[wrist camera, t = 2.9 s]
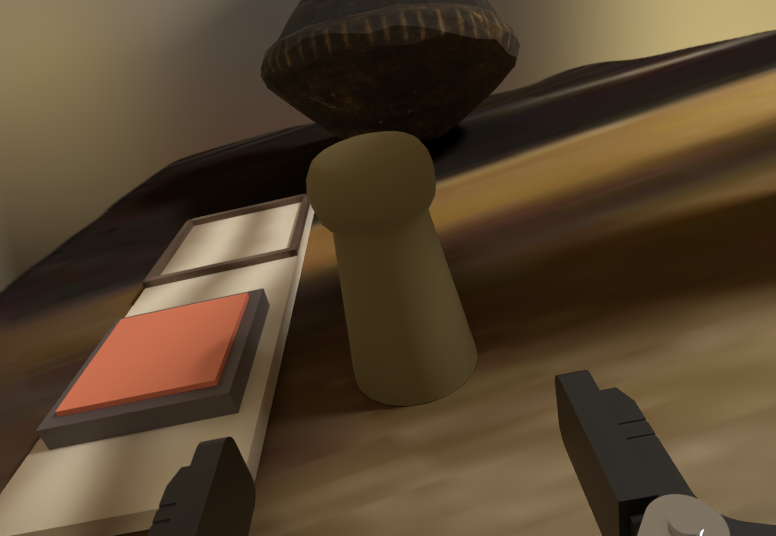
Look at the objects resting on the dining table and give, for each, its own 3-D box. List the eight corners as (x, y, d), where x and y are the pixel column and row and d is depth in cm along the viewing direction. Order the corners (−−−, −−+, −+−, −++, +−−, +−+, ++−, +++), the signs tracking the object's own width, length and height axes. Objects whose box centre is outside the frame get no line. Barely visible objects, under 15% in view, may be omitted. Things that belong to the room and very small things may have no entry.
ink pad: (269, 305, 32) (261, 283, 32) (238, 413, 24) (226, 387, 24) (125, 335, 33) (114, 314, 32) (49, 449, 25) (32, 426, 24)
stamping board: (316, 202, 49) (311, 186, 48) (248, 511, 21) (234, 484, 20) (198, 228, 50) (192, 213, 49) (-21, 559, 22) (-43, 535, 21)
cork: (387, 427, 23) (315, 183, 18) (336, 358, 28) (268, 152, 23) (504, 364, 25) (469, 127, 20) (436, 310, 30) (394, 109, 25)
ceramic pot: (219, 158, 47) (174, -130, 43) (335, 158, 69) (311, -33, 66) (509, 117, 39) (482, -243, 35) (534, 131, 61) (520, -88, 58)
